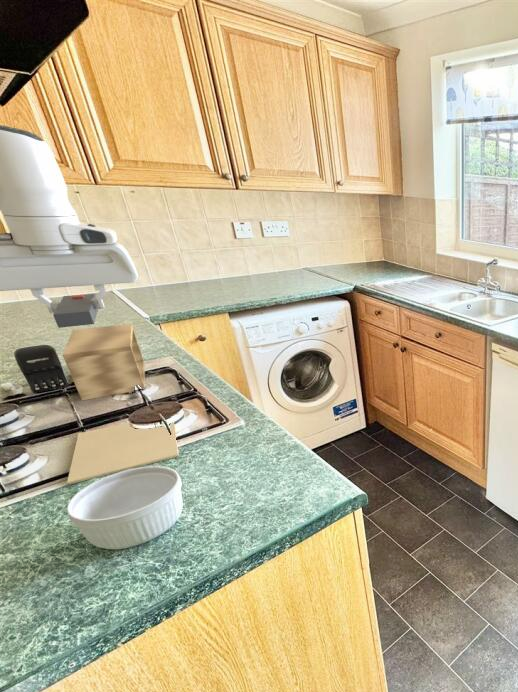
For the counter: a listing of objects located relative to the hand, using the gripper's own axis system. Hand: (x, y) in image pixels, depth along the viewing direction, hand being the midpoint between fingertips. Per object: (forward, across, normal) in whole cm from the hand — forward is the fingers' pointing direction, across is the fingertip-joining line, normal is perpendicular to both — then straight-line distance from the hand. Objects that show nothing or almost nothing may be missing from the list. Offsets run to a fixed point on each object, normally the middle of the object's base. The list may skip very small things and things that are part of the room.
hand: (78, 310), depth 79 cm
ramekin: (+28, +2, -35) cm, 44 cm away
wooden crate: (+27, -3, +34) cm, 44 cm away
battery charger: (+27, -15, +35) cm, 47 cm away
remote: (+1, 0, 0) cm, 1 cm away
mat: (+27, 0, -6) cm, 28 cm away
